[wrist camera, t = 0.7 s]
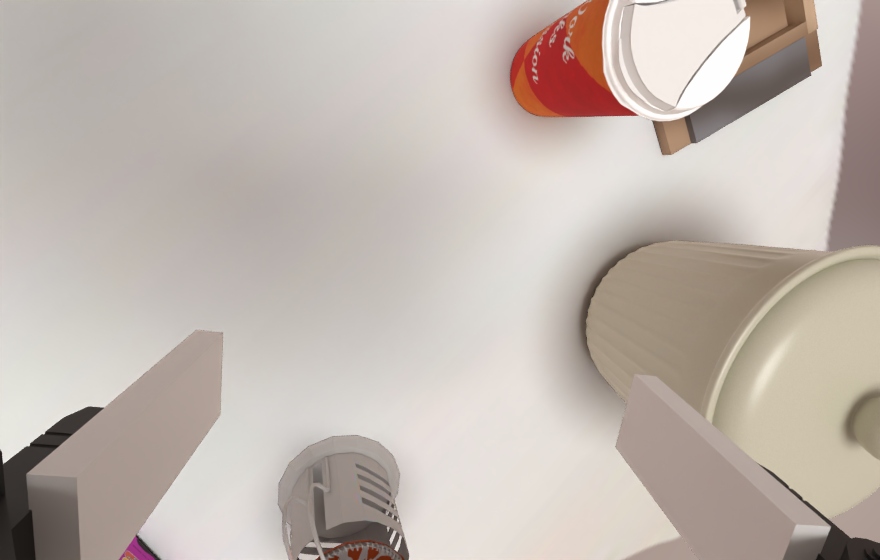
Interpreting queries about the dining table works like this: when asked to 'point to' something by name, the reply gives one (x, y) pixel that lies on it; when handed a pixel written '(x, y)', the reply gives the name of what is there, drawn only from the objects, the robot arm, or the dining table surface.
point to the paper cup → (632, 58)
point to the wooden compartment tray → (754, 70)
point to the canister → (757, 352)
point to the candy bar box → (137, 551)
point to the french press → (342, 501)
